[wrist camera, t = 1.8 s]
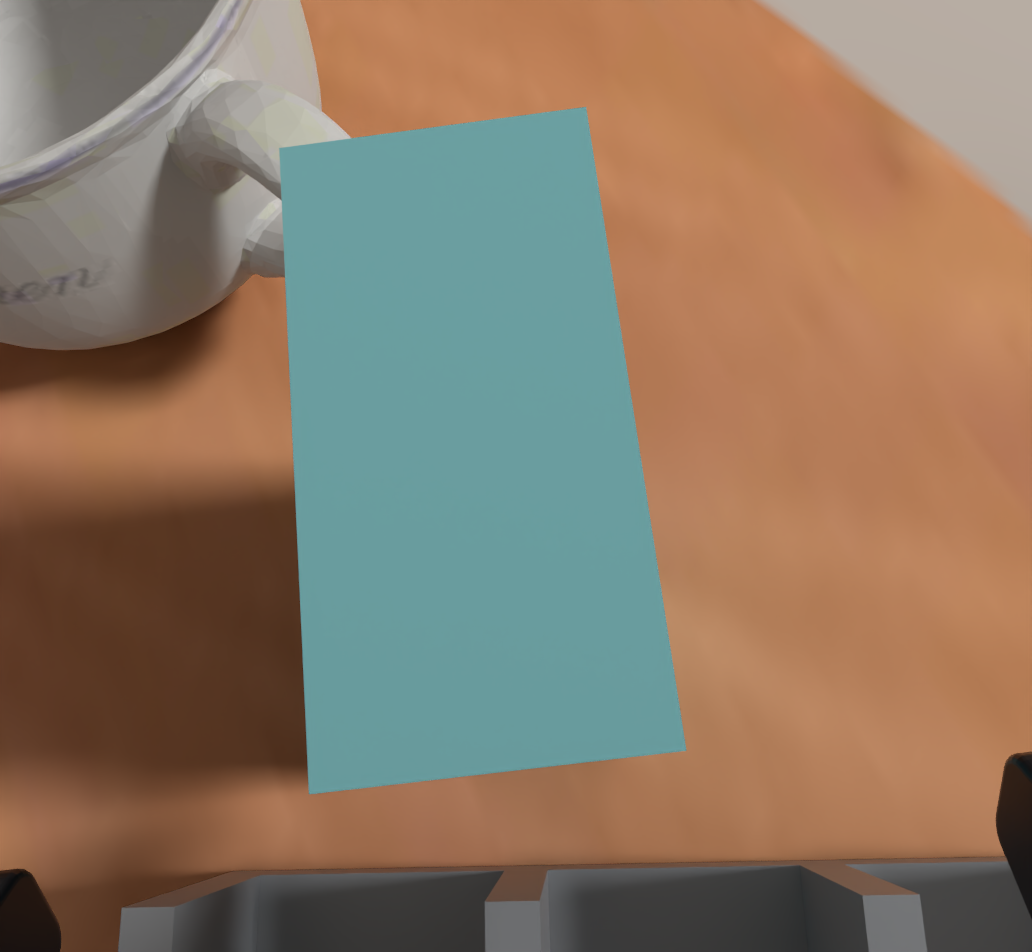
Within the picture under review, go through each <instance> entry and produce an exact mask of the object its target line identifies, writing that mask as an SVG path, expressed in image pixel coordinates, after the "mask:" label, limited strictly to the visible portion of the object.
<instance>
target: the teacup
mask: <svg viewBox="0 0 1032 952" xmlns="http://www.w3.org/2000/svg"><path fill="white" fill-rule="evenodd" d="M350 138H351V137H350V136H349V135H348V134H347V133H346V132H345V131H344V130H342V129H341V128H340V127H339V126H338V125H337V124H336V123H335V122H334V121H333V120H331V119H330V118H329V117H328V116H327V115H325V114H324V113H323V112H322V111H321V95H320V87H319V80H318V74H317V68H316V61H315V57H314V53H313V49H312V44H311V40H310V36H309V32H308V28H307V24H306V20H305V17H304V13H303V9H302V6H301V2H300V0H0V342H2V343H6V344H11V345H16V346H21V347H26V348H37V349H49V350H83V349H94V348H100V347H105V346H111V345H117V344H123V343H129V342H132V341H135V340H138V339H142V338H145V337H148V336H151V335H155V334H158V333H161V332H164V331H166V330H169V329H171V328H173V327H175V326H177V325H180V324H182V323H184V322H186V321H188V320H190V319H192V318H194V317H196V316H198V315H200V314H202V313H204V312H205V311H207V310H208V309H210V308H212V307H213V306H215V305H216V304H218V303H220V302H221V301H222V300H223V299H225V298H226V297H227V296H229V295H230V294H231V293H232V292H234V291H235V290H236V289H237V288H239V287H240V286H241V285H243V284H244V283H245V282H246V281H247V280H248V279H249V278H250V277H251V276H252V275H253V274H258V275H260V276H263V277H273V278H276V277H284V278H285V264H284V242H283V220H282V199H281V177H280V156H279V148H283V147H291V146H298V145H306V144H313V143H320V142H328V141H335V140H343V139H350Z"/></svg>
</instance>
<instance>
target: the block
mask: <svg viewBox="0 0 1032 952" xmlns="http://www.w3.org/2000/svg"><path fill="white" fill-rule="evenodd" d="M279 156H280V177H281V199H282V220H283V242H284V264H285V285H286V307H287V329H288V350H289V372H290V394H291V415H292V437H293V459H294V480H295V502H296V524H297V545H298V567H299V589H300V610H301V632H302V654H303V675H304V697H305V719H306V740H307V762H308V784H309V794H316V793H325V792H333V791H342V790H350V789H359V788H368V787H376V786H385V785H394V784H402V783H411V782H420V781H428V780H437V779H446V778H454V777H463V776H471V775H480V774H489V773H497V772H506V771H515V770H523V769H532V768H541V767H549V766H558V765H567V764H575V763H584V762H593V761H601V760H610V759H618V758H627V757H636V756H644V755H653V754H662V753H670V752H679V751H686V746H685V739H684V733H683V726H682V720H681V713H680V707H679V701H678V694H677V688H676V681H675V675H674V669H673V662H672V656H671V649H670V643H669V636H668V630H667V624H666V617H665V611H664V604H663V598H662V592H661V585H660V579H659V572H658V566H657V559H656V553H655V547H654V540H653V534H652V527H651V521H650V515H649V508H648V502H647V495H646V489H645V482H644V476H643V470H642V463H641V457H640V450H639V444H638V438H637V431H636V425H635V418H634V412H633V405H632V399H631V393H630V386H629V380H628V373H627V367H626V361H625V354H624V348H623V341H622V335H621V328H620V322H619V316H618V309H617V303H616V296H615V290H614V284H613V277H612V271H611V264H610V258H609V252H608V245H607V239H606V232H605V226H604V219H603V213H602V207H601V200H600V194H599V187H598V181H597V175H596V168H595V162H594V155H593V149H592V142H591V136H590V130H589V123H588V117H587V110H586V107H582V108H575V109H567V110H560V111H552V112H545V113H537V114H530V115H522V116H515V117H508V118H500V119H493V120H485V121H478V122H470V123H463V124H455V125H448V126H440V127H433V128H425V129H418V130H410V131H403V132H395V133H388V134H380V135H373V136H365V137H358V138H350V139H343V140H335V141H328V142H320V143H313V144H306V145H298V146H291V147H283V148H279Z"/></svg>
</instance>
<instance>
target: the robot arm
mask: <svg viewBox="0 0 1032 952" xmlns="http://www.w3.org/2000/svg"><path fill="white" fill-rule="evenodd" d="M996 828H997V834H998V837H999V841H1000V844H1001V846H1002V849H1003V851H1004V854H1005V856H1006V859H1007V861H1008V864H1009V866H1010V869H1011V871H1012V873H1013V876H1014V878H1015V881H1016V883H1017V886H1018V888H1019V891H1020V893H1021V895H1022V898H1023V900H1024V903H1025V905H1026V908H1027V910H1028V913H1029V915H1030V917H1031V920H1032V752H1025V753H1016V754H1013V755H1011V756H1010V757H1009V758H1008V759H1007V761H1006V763H1005V766H1004V771H1003V777H1002V783H1001V789H1000V794H999V800H998V806H997V812H996ZM60 948H61V931H60V927H59V923H58V921H57V919H56V917H55V915H54V913H53V911H52V909H51V908H50V906H49V904H48V902H47V900H46V898H45V897H44V895H43V893H42V891H41V889H40V887H39V886H38V884H37V882H36V880H35V878H34V877H33V875H32V874H31V873H30V872H28V871H26V870H25V869H11V870H2V871H0V952H60Z"/></svg>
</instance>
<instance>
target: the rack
mask: <svg viewBox="0 0 1032 952" xmlns="http://www.w3.org/2000/svg"><path fill="white" fill-rule="evenodd" d="M118 952H1032V920H1031V917H1030V915H1029V913H1028V910H1027V908H1026V905H1025V903H1024V900H1023V898H1022V895H1021V893H1020V891H1019V888H1018V886H1017V883H1016V881H1015V878H1014V876H1013V873H1012V871H1011V869H1010V866H1009V864H1008V861H1007V859H1006V857H962V858H908V859H854V860H800V861H747V862H693V863H639V864H585V865H531V866H477V867H424V868H370V869H316V870H262V871H232V872H229V873H226V874H223V875H220V876H217V877H213V878H210V879H207V880H204V881H201V882H198V883H195V884H192V885H189V886H186V887H183V888H180V889H177V890H174V891H171V892H168V893H165V894H162V895H159V896H156V897H153V898H150V899H147V900H144V901H141V902H138V903H135V904H132V905H129V906H126V907H123V908H122V911H121V923H120V935H119V946H118Z"/></svg>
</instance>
